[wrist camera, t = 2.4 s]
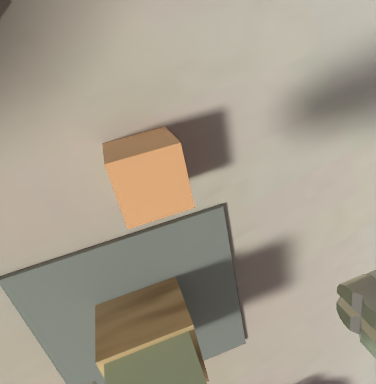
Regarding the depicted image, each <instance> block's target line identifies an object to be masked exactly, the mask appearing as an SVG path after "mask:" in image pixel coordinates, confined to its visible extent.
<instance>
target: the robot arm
mask: <svg viewBox="0 0 376 384" xmlns="http://www.w3.org/2000/svg"><path fill="white" fill-rule="evenodd" d="M337 293H338V294H339V295H340V298H339V299H338V301H337V312H338V314H339V317H340V319H341V320H342V322H343V323H344V324H345V325H346V327H347V328H348V329H349V330H350V331H353V332H355V333H357V334H359V337H360V342H361V343H362V344H363V345H364V346H365V347H366V348H367V350H368V351H369V352H370V353H371V354H372V355H373V356H374V357H375V358H376V270H374V271H372V272H369V273H367V274H363V275H361V276H358V277H356V278H353V279H351V280H349V281H346V282H344V283H341V284H339V286H338V287H337ZM87 384H97V383H96V381H93V382H90V383H87Z"/></svg>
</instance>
